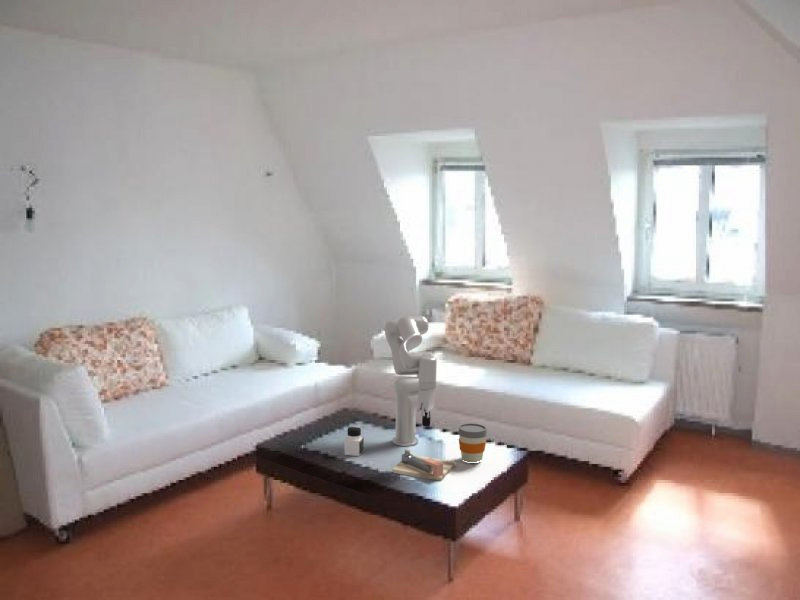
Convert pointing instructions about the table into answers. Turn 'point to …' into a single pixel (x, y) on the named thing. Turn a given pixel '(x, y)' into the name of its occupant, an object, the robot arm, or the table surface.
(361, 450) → the medicine bottle
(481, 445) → the reusable coffee cup
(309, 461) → the table surface
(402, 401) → the robot arm
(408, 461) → the steel link
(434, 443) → the table surface
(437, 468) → the keeper
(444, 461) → the birch board
